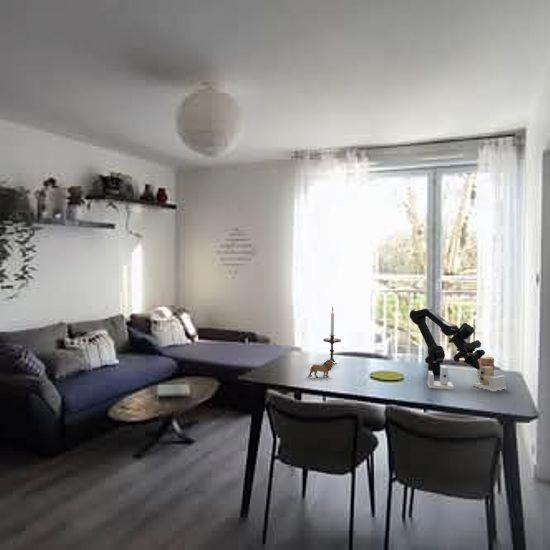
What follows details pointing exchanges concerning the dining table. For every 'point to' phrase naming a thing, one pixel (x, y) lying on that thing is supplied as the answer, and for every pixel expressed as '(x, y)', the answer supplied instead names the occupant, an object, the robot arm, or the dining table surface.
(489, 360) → the stack of blocks
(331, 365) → the lion figurine
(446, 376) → the one dot key
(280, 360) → the dining table surface
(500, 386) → the white l-shaped holder
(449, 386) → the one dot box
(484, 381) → the two dot key
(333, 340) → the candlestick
